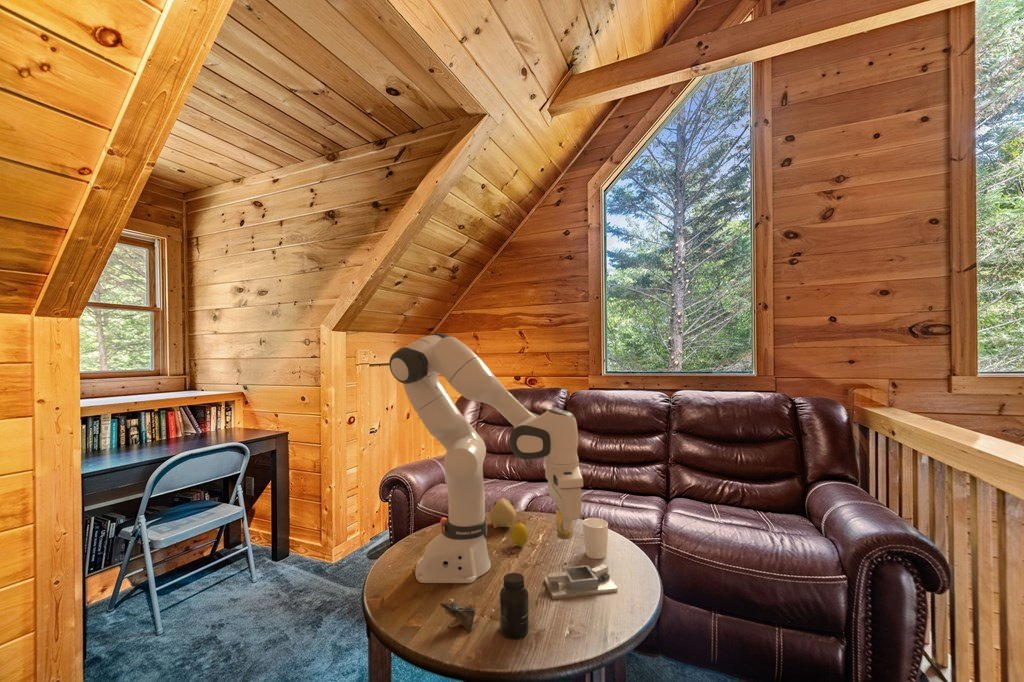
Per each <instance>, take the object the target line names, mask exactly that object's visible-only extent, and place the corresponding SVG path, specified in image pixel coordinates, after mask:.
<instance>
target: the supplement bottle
mask: <svg viewBox="0 0 1024 682" xmlns="http://www.w3.org/2000/svg"><path fill="white" fill-rule="evenodd" d="M502 583H503V584H502V588H501V589H500V590H499V598H498V599H499V631H500V633H501V634H502V636H504V637H506V638H508V639H512V640H513V639H514V640H515V639H521V638H523V637H524V636H525V635H527V633H528V631H529V628H530V627H529V625H530V624H529V619H530V618H529V616H530V615H529V614H530V613H529V610H530V609H529V602H530V601H529V591H528V589H527V588H526V587H525V577H524V575H523V574H521V573H519V572H510V573H507V574H505V575H504V576H503V582H502Z"/></svg>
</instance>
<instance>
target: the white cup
mask: <svg viewBox="0 0 1024 682" xmlns="http://www.w3.org/2000/svg"><path fill="white" fill-rule="evenodd" d="M582 531H583V542H584V553H585V556H587V558H590V559H594V560H601V559H602V560H603V559H605V558H606V557H607V556H608V538H609V537H608V533H609V522H608V521H607V520H605V519H603V518H598V517H588V518H585V519H584V520H583V521H582Z"/></svg>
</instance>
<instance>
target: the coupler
mask: <svg viewBox="0 0 1024 682" xmlns="http://www.w3.org/2000/svg"><path fill="white" fill-rule="evenodd" d="M555 509H556V510H555V512H556V537H557V538H558V539H561V540H570V539H571V538H573V521H571V522H570V529H569V530H564V529H563V527H562V521H563V516H562V513H561V512H560V510H559V509H558V507H557V508H556V507H555Z"/></svg>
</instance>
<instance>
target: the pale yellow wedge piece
mask: <svg viewBox="0 0 1024 682" xmlns="http://www.w3.org/2000/svg"><path fill="white" fill-rule="evenodd" d="M488 516H489V520H490V521H491V523H492V525H493V528H494V529H496V528H498V527H499V528H512V526H513V523H514V522H515V520H516V518H517V513H516V510H515V507H514V503H513V501H511V500H509V499H506V498H504V497H501V498H499V499H498V500H497V501H495V502H494V503H493V507H492V509H491V510H490V512H489V515H488Z"/></svg>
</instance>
